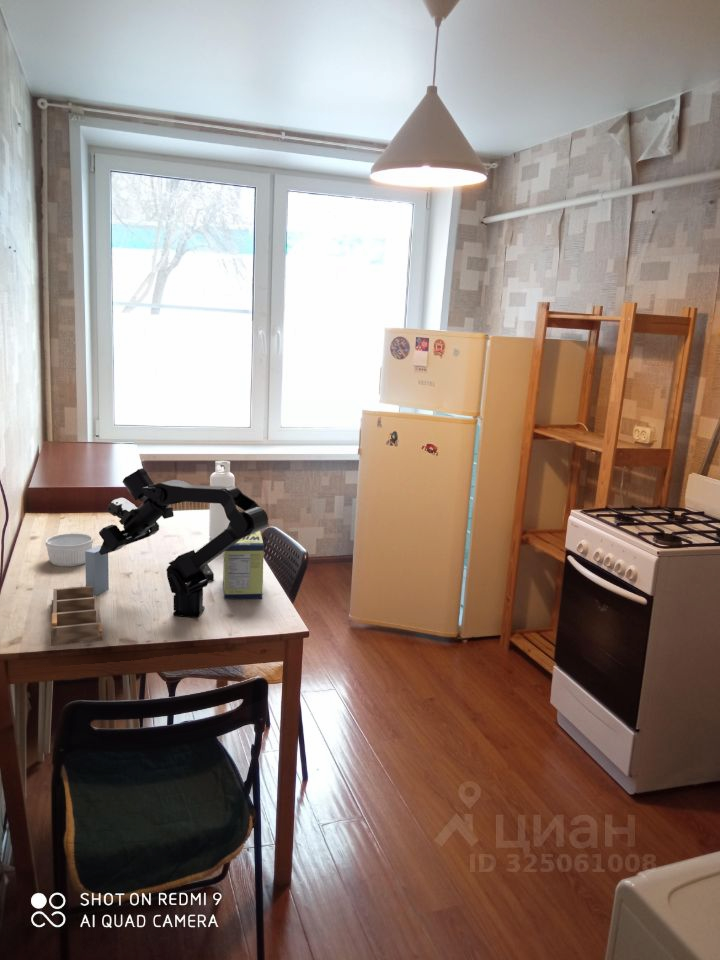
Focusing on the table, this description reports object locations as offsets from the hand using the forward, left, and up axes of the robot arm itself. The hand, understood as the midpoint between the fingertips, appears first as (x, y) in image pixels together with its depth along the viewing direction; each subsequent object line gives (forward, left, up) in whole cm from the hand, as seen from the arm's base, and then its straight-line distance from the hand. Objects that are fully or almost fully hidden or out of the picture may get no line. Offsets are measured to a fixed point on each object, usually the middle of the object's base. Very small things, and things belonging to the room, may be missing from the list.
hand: (111, 548), depth 188 cm
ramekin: (+23, -23, -13) cm, 35 cm away
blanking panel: (+5, -1, -13) cm, 14 cm away
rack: (+2, +18, -13) cm, 22 cm away
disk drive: (-16, -20, -14) cm, 29 cm away
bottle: (-16, -52, -13) cm, 56 cm away
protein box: (-33, -11, -13) cm, 37 cm away
